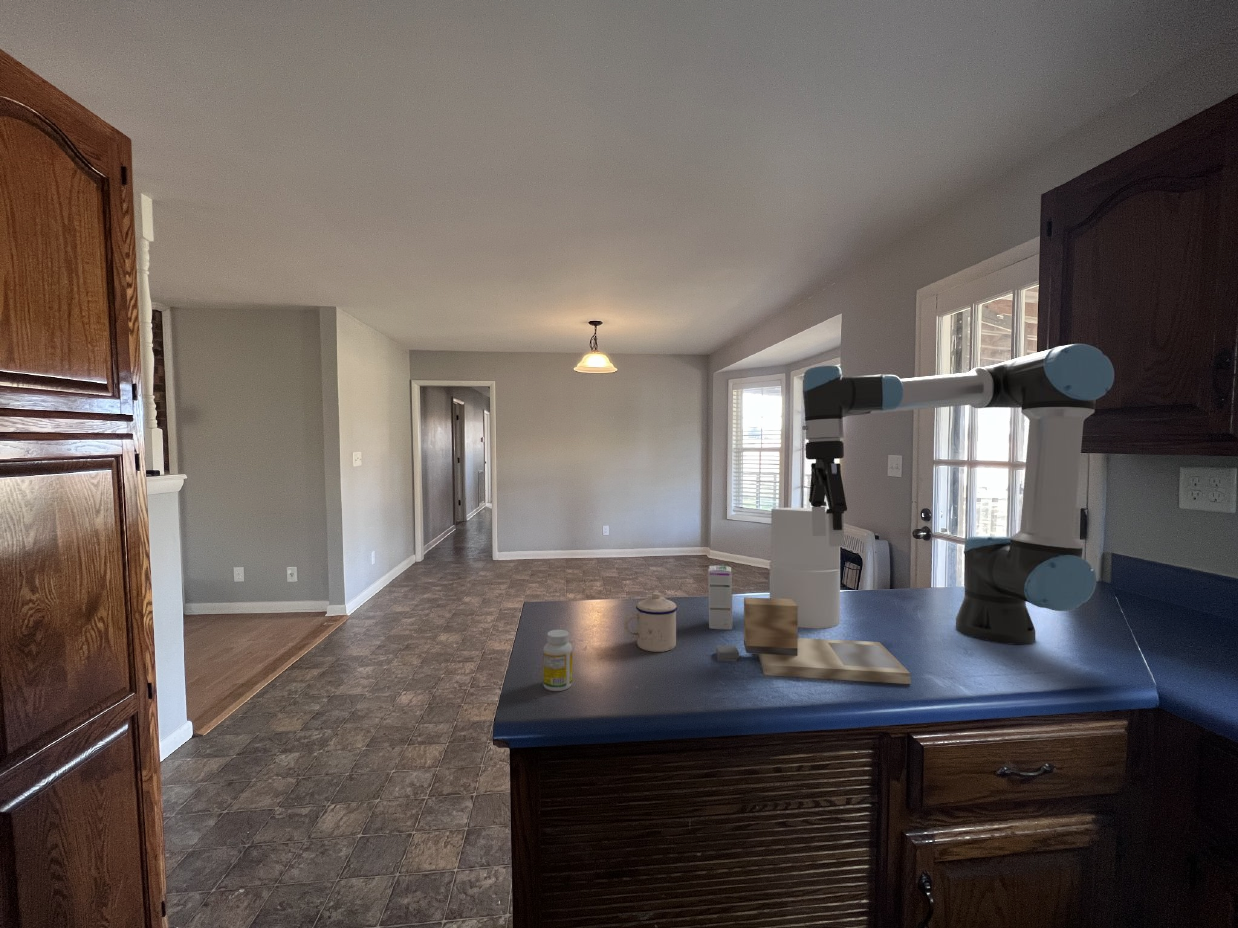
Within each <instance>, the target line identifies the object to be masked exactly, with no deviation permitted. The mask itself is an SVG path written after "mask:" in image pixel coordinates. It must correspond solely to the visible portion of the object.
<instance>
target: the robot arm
mask: <svg viewBox="0 0 1238 928" xmlns="http://www.w3.org/2000/svg"><path fill="white" fill-rule="evenodd" d="M802 380H803V383H802V387H803V389H802V393H803V407H804V408H803V409H804V425H802V427H801V428H802V430H803V431H805V433H804V434H805V436H804V438H805V440H806V441H807V440H808V441H807V442H806V443H805V444H804V447H805V449H804V450H805V458H806V459H807V460H808V461H810V460H815V462H812V463H811V464H810V467H811V469H810V470H811V473H810V483H809V484H810V485H809V495H808V496H809V497H808V502H809V503H810V505H811V508H812V530H813V536H826V520H825V509H827V510H826V514H828V532H829V546H840V547H844V546H845V531H844V530H845V528H844V527H845V526H844V513H845V512H847V511H848V506H847V501H846V495H845V489H844V483H843V479H842V471H841V470H842V469H841V468H842V466H841V463H838V462H837V463H836V462H835V459H836V460H837V459H838V460H840V459H844V456H845V447H844V442H843V441H842V440H841V439H843V438H844V419H843V418H846V417H851V416H852V417H853V416H862V415H863V416H864V415H870V414H880V413H892V412H904V411H914V410H915V411H916V410H928V409H935V408H936V409H939V408H948V407H949V408H950V407H960V406H970V407H972V408H974V409H986V408H987V409H988V408H989V409H990V408H1005V409H1006V408H1013V409H1014V408H1015V409H1017V408H1018V409H1019V408H1020V409H1021V410H1020V411H1021V412H1020V413H1021V414H1022V415H1023V416H1024V417H1026V418H1027V419H1028V436H1027V445H1026V446H1027V447H1026V458H1025V469H1024V480H1023V482H1024V483H1023V493H1022V504H1021V505H1022V507H1021V515H1020V526H1019V527H1020V528H1019V529H1020V530H1019V531H1018V532H1017V533H1015V534H1013V535H1011V536H970V537H968V538H966V539H965V542H964V548H963V555H964V597H963V600H962V603H961V605H960V607H959V609H958V612H957V615H956V616H955V628H956V630H957V631H959V632H961V633H963V634H965V635H967V636H970V637H972V638H976V639H978V640H979V639H980V640H984V641H989V642H993V643H1000V644H1007V645H1008V644H1009V645H1027V644H1032V643H1035V642H1036V629H1035V626H1034V623H1033V621H1032V618H1031V616H1030V612H1029V610H1028V608H1027V603H1029V604H1031V605H1033V606H1036V607H1038V608H1042V609H1047V610H1051V611H1054V612H1067V611H1073V610H1075V609H1077V608H1079V607H1080V606H1081V605H1082V604H1085V603H1087V602H1088V601H1089V600H1090V599H1091V598H1092V596H1093V594H1094V592H1095V589H1096V587H1097V574H1096V571H1095V569H1094V568H1093V567H1092V565H1091V563H1089V562H1088V561H1087V560H1085V559H1084V558H1083V550H1084V549H1083V548H1084V547H1083V545H1082V544H1081V543H1080V541H1078V540H1077V539H1076V538H1075V536H1074V535H1075V526H1076V515H1077V513H1076V512H1077V502H1078V501H1077V500H1078V490H1079V481H1080V480H1079V477H1080V466H1081V455H1082V454H1081V453H1082V444H1083V443H1082V442H1083V431H1084V422H1085V419H1087V418H1089V417H1090V416H1091V415H1093V414H1094V413H1095V410H1096V402H1097V401H1096V400H1098V399H1100V398H1101V397H1103V396H1105V395H1106V394H1107V392H1108V391H1110V390H1111V388H1112V386H1113V385H1114V382H1115V381H1114V380H1115V369H1114V367H1113V364H1112V362H1111V360H1110V359H1109V357H1108V356H1107V355H1105V354H1103V351H1102V350H1100V349H1098V348H1097V347H1095V346H1092V345H1090V344H1086V343H1074V344H1067V345H1058V346H1055V347H1053V348H1051V349H1047V350H1044V351H1040V352H1036V353H1031V354H1028V355H1024V356H1019V357H1017V358H1014V359H1010V360H1006V361H1004V362H1000V363H997V364H992V365H989V366H981V367H974V368H973V369H971V370H970V371H969V372H966V373H965V372H963V373H962V372H961V373H954V374H952V373H951V374H941V375H931V376H919V377H911V378H900V377H899V376H897V375H896V374H883V373H880V374H867V375H843V373H842V369H841V367H840V366H838V365H821V366H815V367H814V366H813V367H810V368H809V369H807V370H805V372H804V374H803V379H802ZM825 500H826V501H825ZM827 506H828V508H826V507H827ZM1026 602H1027V603H1026Z"/></svg>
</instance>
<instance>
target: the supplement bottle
mask: <svg viewBox="0 0 1238 928" xmlns="http://www.w3.org/2000/svg"><path fill="white" fill-rule="evenodd" d="M569 640H570V633H569V631H567V630H565V629H552V630H550V631H548V632H547V633H546V641H547V643H546V644H545V645H543V649H542V650H543V653H542V654H543V655H542V656H543V657H542V659H543V665H542V669H543V670H542V674H543V675H542V677H543V682H542V683H543V688H544V689H546V690H548V691H551V692H560V691H561V692H562V691H566V690H567V689H569V688H570V687H572V686H573V645H572V644H571V643H570V642H569Z"/></svg>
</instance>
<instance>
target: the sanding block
mask: <svg viewBox="0 0 1238 928" xmlns="http://www.w3.org/2000/svg"><path fill="white" fill-rule="evenodd" d="M798 628H799V627H798V606H797V604H796V603H795V602H794V600H793V599H775V598H770V597H746V596H745V597H743V645H744V646H743V647H744V648H745V649H744V650H745V653H746V654H757V655H758V654H774V655H792V656H798V638H799V636H798V634H799V633H798Z"/></svg>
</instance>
